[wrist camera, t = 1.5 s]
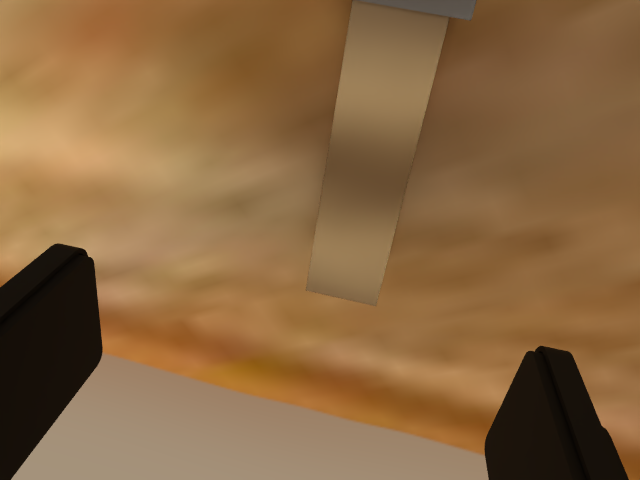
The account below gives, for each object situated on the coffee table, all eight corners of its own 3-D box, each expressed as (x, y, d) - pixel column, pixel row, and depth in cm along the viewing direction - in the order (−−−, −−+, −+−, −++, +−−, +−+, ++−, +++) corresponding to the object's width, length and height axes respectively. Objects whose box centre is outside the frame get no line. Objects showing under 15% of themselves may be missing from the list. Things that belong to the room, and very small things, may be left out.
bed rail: (394, 258, 26) (388, 320, 22) (311, 240, 26) (288, 297, 22) (466, -17, 20) (478, -9, 15) (354, -36, 20) (335, -33, 15)
